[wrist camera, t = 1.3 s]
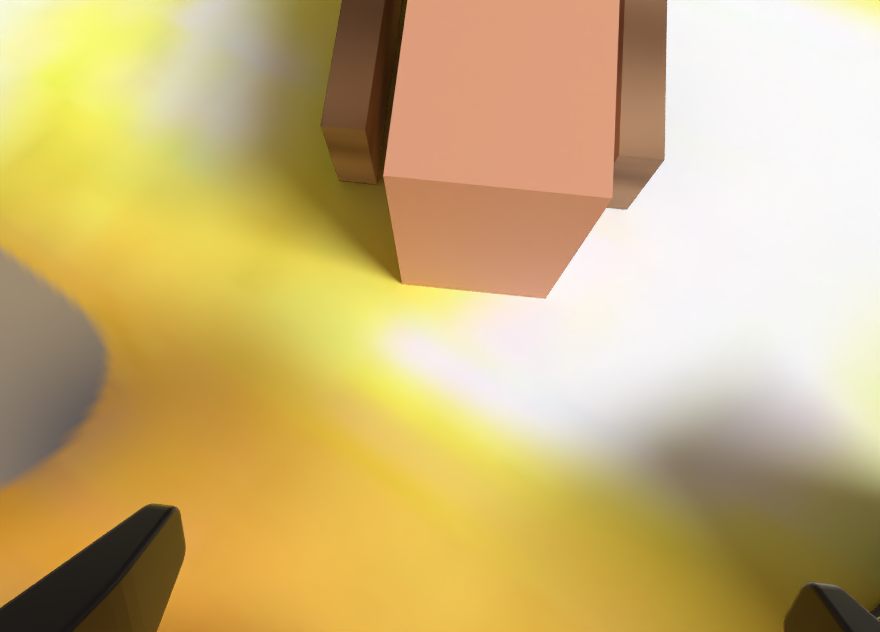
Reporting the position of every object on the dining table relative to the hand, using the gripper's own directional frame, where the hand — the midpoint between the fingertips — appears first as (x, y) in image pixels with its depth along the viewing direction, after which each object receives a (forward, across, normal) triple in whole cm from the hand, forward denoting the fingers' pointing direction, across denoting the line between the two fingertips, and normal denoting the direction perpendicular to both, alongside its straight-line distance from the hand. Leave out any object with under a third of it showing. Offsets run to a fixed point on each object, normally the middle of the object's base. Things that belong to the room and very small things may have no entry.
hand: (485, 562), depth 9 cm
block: (+20, 0, -3) cm, 20 cm away
